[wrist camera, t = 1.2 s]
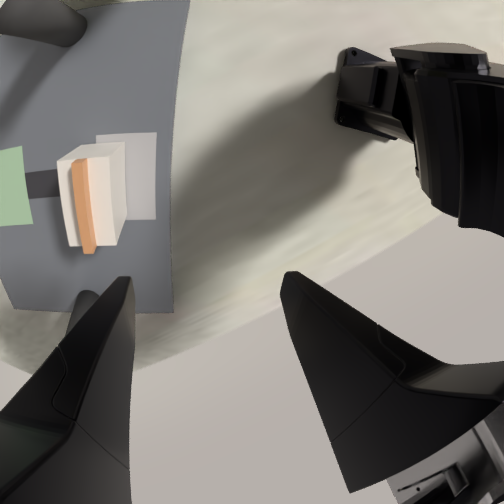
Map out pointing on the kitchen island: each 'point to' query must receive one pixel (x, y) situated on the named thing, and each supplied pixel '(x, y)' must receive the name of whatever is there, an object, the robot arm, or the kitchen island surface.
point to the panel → (90, 132)
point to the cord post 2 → (81, 306)
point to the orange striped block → (93, 194)
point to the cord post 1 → (42, 21)
